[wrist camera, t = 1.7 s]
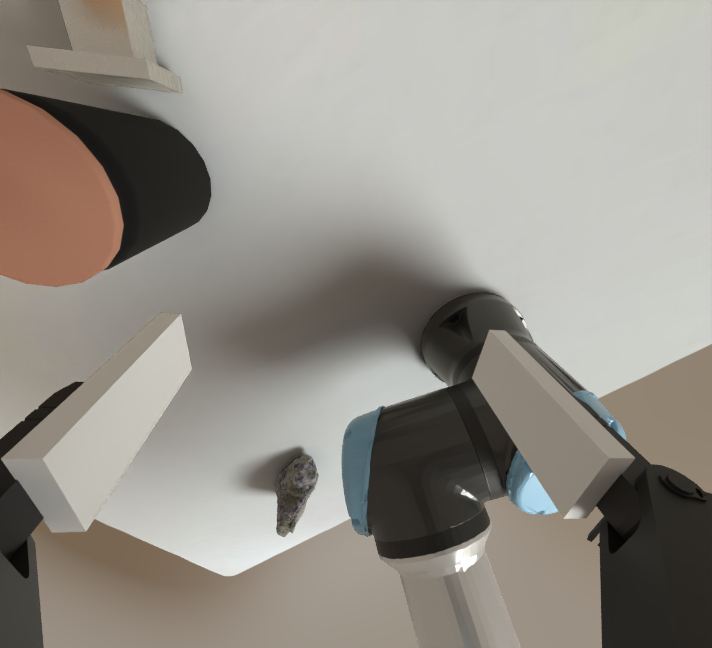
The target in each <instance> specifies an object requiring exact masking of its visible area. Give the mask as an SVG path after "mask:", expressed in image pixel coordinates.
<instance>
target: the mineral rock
mask: <svg viewBox="0 0 712 648" xmlns="http://www.w3.org/2000/svg"><path fill="white" fill-rule="evenodd" d="M318 476H319V475H318V473H317V469H316V466H315V463H314V461H313V459H312V458H311V456H309V455H304V456H302V457H300V458H299V459H295V460H294V461H293V462H292V463H291V464H290V465H289V466H288V467H286V468H285V469H284V471H283V473H280V474H279V478H278V479H277V480H276V481H275V484H274V485H275V491H276V495H277V499H278V500H277V503H278V507H277V528H276V529H277V533H278V535H280V536H283V537H285V536H286V535H287V534H288V533H289V532H291V533H293V531H294V528H295V526H296V523H297V521H299V519H300V518H301V516H302V515H303V513H304V509H305V506H306V502H307V499H308V498H309V496H310V494H311V492H312V491H313V490H314V489H315V486H316V482H317V480H318Z"/></svg>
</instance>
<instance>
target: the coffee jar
mask: <svg viewBox="0 0 712 648" xmlns="http://www.w3.org/2000/svg"><path fill="white" fill-rule="evenodd" d="M210 198H211V183H210V177H209V174H208V171H207V168H206V165H205V163H204V160H203V159H202V157H201V156H200V154H199V153H198V151H197V150H196V148H195V147H194V145H193V144H192V143H191V142H190V141H189V140H187V139H186V138H185V137H184V136H183V135H182V134H181V133H180V132H179V131H178V130H176V129H174V128H172V127H170V126H169V125H167V124H165V123H163V122H161V121H159V120H155V119H150V118H145V117H140V116H135V115H130V114H125V113H120V112H115V111H110V110H105V109H101V108H96V107H91V106H86V105H81V104H76V103H71V102H66V101H61V100H56V99H51V98H47V97H42V96H37V95H32V94H26V93H21V92H16V91H11V90H6V89H0V275H3V276H6V277H9V278H12V279H15V280H18V281H21V282H24V283H27V284H36V285H45V286H54V287H58V286H64V285H70V284H76V283H82V282H84V281H86V280H87V279H89V278H91V277H92V276H94V275H96V274H97V273H99V272H101V271H102V270H107V269H110V268H112V267H114V266H116V265H117V264H119V263H121V262H123V261H125V260H127V259H129V258H131V257H133V256H135V255H137V254H139V253H141V252H142V251H144V250H146V249H148V248H150V247H152V246H154V245H156V244H158V243H160V242H162V241H164V240H166V239H167V238H169V237H171V236H173V235H175V234H177V233H179V232H181V231H183V230H185V229H187V228H188V227H190V226H192V225H194V224H195V223H197V222H199V220H200V219H201V218H202V216H203V215H204V214H205V213H206V211H207V209H208V206H209V202H210Z"/></svg>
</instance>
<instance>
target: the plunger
mask: <svg viewBox="0 0 712 648" xmlns="http://www.w3.org/2000/svg"><path fill="white" fill-rule="evenodd" d="M58 2H59V5H60V9H61V12H62V16H63V19H64V22H65V26H66V29H67V33H68V36H69V40H70V43H71V47H72V50H65V49H56V48H47V47H39V46H30V45H26V46H27V49H28V52H29V55H30V58H31V61H32V64H33V67H36V68H40V69H43V70H46V71H50V72H53V73H56V74H60V75H63V76H66V77H70V78H73V79H76V80H80V81H83V82H86V83H90V84H98V85H108V86H118V87H127V88H137V89H146V90H156V91H165V92H175V93H183V89H182V83H181V77H179V76H177V75H176V74H174V73H172V72H170V71H168V70H166V69H164V68H162V67H160V66H158V64H157V58H156V53H155V48H154V43H153V37H152V32H151V27H150V21H149V16H148V11H147V6H146V5H144V4H143V3H142V2H141V1H140V0H58Z"/></svg>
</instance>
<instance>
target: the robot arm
mask: <svg viewBox="0 0 712 648" xmlns="http://www.w3.org/2000/svg"><path fill="white" fill-rule="evenodd" d="M421 349H422V354H423V357H424V359H425V361H426V363H427V366H428V367H429V369H430V371H431V372H432V373H433V374H434V375H435V376H436V377H437V378H438V379H440V380H441V381H443V382H445V383H446V384H447V386H448V387H447V388H443V389H440V390H437V391H434V392H431V393H428V394H425V395H422V396H418V397H415V398H412V399H409V400H406V401H403V402H400V403H397V404H394V405H391V406H387V407H384V406H381V407H379V408H378V409H377V410H375V411H372V412H369V413H367V414H364V415H362V416H359V417H357V418H355V419H353V420H352V421H351V422H350V423H349V425H348V427H347V429H346V431H345V434H344V438H343V445H342V479H343V488H344V495H345V501H346V506H347V510H348V514H349V516H350V517H351V519H352V525H353V527H354V529H355V531H356V532H357V533H358V534H360V535H365V536H367V537H368V536H371V535H372V534H373V536H374V538H375V542H376V546H377V550H378V554H379V557H380V559H381V560H383V561H384V562H386V563H387V564H389V565H390V566H391V567H393V568H394V569H395V570H397V571H398V572H399V574H400V577H401V581H402V585H403V588H404V592H405V596H406V600H407V604H408V607H409V611H410V615H411V619H412V622H413V626H414V630H415V633H416V637H417V641H418V645H419V648H521V647H520V644H519V641H518V638H517V636H516V633H515V630H514V627H513V625H512V622H511V619H510V617H509V614H508V612H507V609H506V606H505V603H504V601H503V598H502V595H501V593H500V590H499V587H498V585H497V582H496V579H495V577H494V574H493V571H492V568H491V566H490V563H489V560H488V558H487V555H486V552H485V549H484V548H485V542H486V540H487V537H488V535H489V533H490V530H491V526H492V524H491V521H490V519H489V516H488V513H487V511H486V508H485V506H484V503H485V502H487V501H489V500H493V499H497V498H500V497H504V496H508V497H509V499H510V501H512V502H513V504H515V505H516V506H517V507H518V508H519V509H520V510H522V511H523V512H526V513H529V514H536V513H538V514H541V515H546V514H551V513H555V512H559V513H560V514H561V516H562V517H563V518H564V519H571V518H572V519H573V518H587V517H588V515H589V514H590V513H591V512H592V511H593V509H594V508H595V507H596V506H597V507H598V509H599V510H600V511H601V512H602V514H603V515H604V517H603V518H602V519H601V521H600V522H599V523H598V524H597V525H596V526H595V528H594V529H593V530H592V531H591V532H590V533H589V535H588V538H587V540H589V541H591V542H592V541H593V540H594V538H595V537H596V536H598V535H600V543H599V544H598V546H599V547H600V573H601V574H600V576H601V613H602V614H601V615H602V616H601V618H602V648H712V494H710V493H707V492H704V491H703V490H702V489H701V488H700V487H699V486H698V485H697V484H695V483H694V482H693V481H691V480H690V479H688V478H687V477H686V476H684V475H682V474H680V473H679V472H677V471H675V470H673V469H670V468H667V467H665V466H661V465H653V464H652V465H651V464H650V463H649V462H648V461H647V460H646V459H645V458H644V457H643V456H642V455H641V454H639V453H638V452H637V451H636V450H635V449H634V448H633V447H632V446H631V445H630V444H629V443H628V442H627V441H626V436H625V433H624V430H623V428H622V426H621V425H620V424H619V422H618V421H617V420H616V419H615V418H614V417H613V416H612V414H611V413H610V412H609V411H608V410H607V409H606V408H605V407H604V406H603V405H602V404H601V403H600V402H599V400H598V399H597V397H596V396H595V395H594V394H593V393H591V392H589V391H587V390H586V389H585V388H584V387H583V386H582V385H581V384H579V383H578V382H577V381H576V380H575V379H574V378H573V377H572V376H571V375H569V374H568V373H567V372H566V371H565V370H564V369H563V368H562V367H560V366H559V365H558V364H557V363H556V362H555V361H554V360H553V359H551V358H550V357H549V356H548V355H547V354H546V353H545V352H544V351H543V350H541V349H540V348H539V347H538V346H537V345H536V344H535V343H534V342H533V339H532V337H531V335H530V333H529V331H528V330H527V326H526V323H525V320H524V318H523V316H522V315H521V313H520V312H519V311H518V310H517V309H516V308H515V307H514V306H513V305H511V304H510V303H509V302H508V301H507V300H505V299H503V298H502V297H499V296H497V295H493V294H488V293H476V294H470V295H466V296H462V297H460V298H457V299H455V300H453V301H451V302H449V303H448V304H446V305H445V306H443V307H442V308H441V309H440V310H439V311H438V312H436V314H435V315H434V316H433V317H432V318H431V319H430V321H429V322H428V324H427V326H426V328H425V330H424V333H423V336H422V341H421ZM191 370H192V367H191V361H190V356H189V351H188V346H187V341H186V336H185V331H184V326H183V321H182V316H181V314H176V313H160V314H159V315H158V316H156V317H155V318H154V319H153V320H152V321H151V322H150V323H149V324H148V325H147V326H146V327H144V328H143V329H142V330H141V331H140V332H139V333H138V334H137V335H136V336H135V337H133V338H132V339H131V340H130V341H129V342H128V343H127V344H126V345H125V346H124V347H123V348H121V349H120V350H119V351H118V352H117V353H116V354H115V355H114V356H113V357H112V358H110V359H109V360H108V361H107V362H106V363H105V364H104V365H103V366H102V367H101V368H100V369H98V370H97V371H96V372H95V373H94V374H93V375H92V376H91V377H90V378H89V379H88V380H86V381H85V382H74V383H72V384H70V385H69V386H67V387H65V388H63V389H61V390H59V391H58V392H56V393H54V394H53V395H52V396H51V397H49V398H48V399H47V400H46V401H45V402H44V403H42V404H41V405H40V406H39V408H38V410H34V411H33V412H32V413H31V414H29V415H28V416H27V417H26V418H25V421H21V422H20V423H19V424H18V425H17V426H15V427H14V428H13V429H12V430H11V431H10V432H8V433H7V434H6V435H5V436H4V437H3V438H1V439H0V648H43V635H42V623H41V612H40V598H39V586H38V574H37V561H36V549H35V542H34V540H33V538H32V536H31V533H32V532H33V531H34V529H35V528H36V527H37V526H38V524H39V523H40V522H41V521H42V519H43V520H44V521H45V523H46V524H47V526H48V527H49V529H50V530H51V532H84V531H85V532H86V531H87V529H88V528H89V526H90V524H91V523H92V521H93V520H94V519H95V517H96V515H97V514H98V512H99V511H100V509H101V508H102V506H103V505H104V503H105V502H106V500H107V499H108V497H109V496H110V494H111V492H112V491H113V489H114V488H115V486H116V485H117V483H118V482H119V480H120V479H121V477H122V476H123V474H124V473H125V471H126V469H127V468H128V466H129V465H130V463H131V462H132V460H133V459H134V457H135V456H136V454H137V453H138V451H139V450H140V448H141V446H142V445H143V443H144V442H145V440H146V439H147V437H148V436H149V434H150V433H151V431H152V430H153V428H154V427H155V425H156V423H157V422H158V420H159V419H160V417H161V416H162V414H163V413H164V411H165V410H166V408H167V407H168V405H169V404H170V402H171V400H172V399H173V397H174V396H175V394H176V393H177V391H178V390H179V388H180V387H181V385H182V384H183V382H184V381H185V379H186V378H187V376H188V374H189V373H190V371H191Z"/></svg>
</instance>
